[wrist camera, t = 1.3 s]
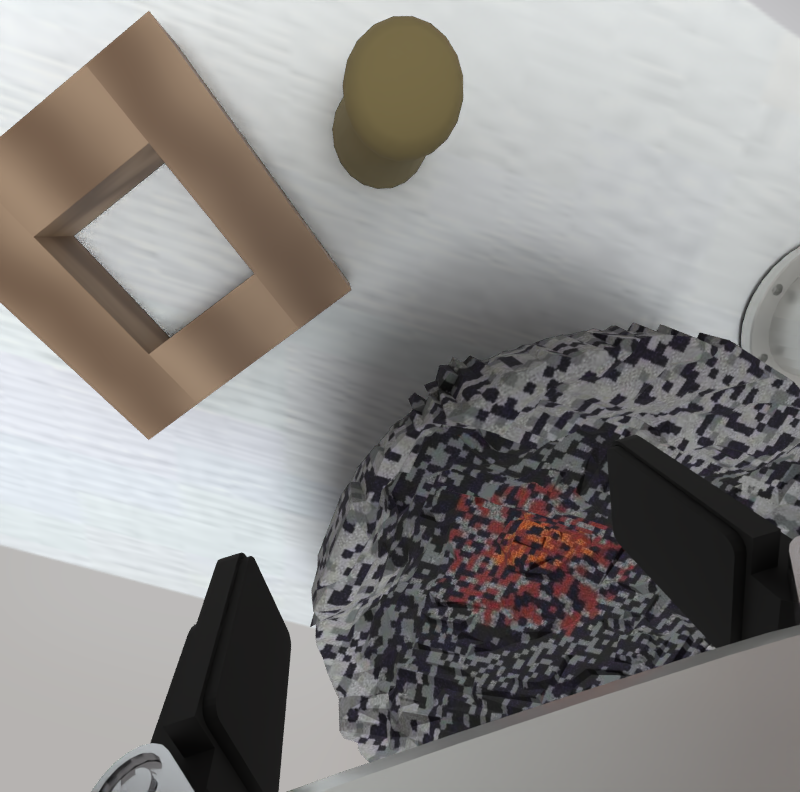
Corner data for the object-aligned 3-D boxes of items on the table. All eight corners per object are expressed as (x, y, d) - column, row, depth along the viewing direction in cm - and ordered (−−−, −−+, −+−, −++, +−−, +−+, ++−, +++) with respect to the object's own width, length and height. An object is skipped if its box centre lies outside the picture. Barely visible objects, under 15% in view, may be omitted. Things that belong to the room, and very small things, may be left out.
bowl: (268, 582, 38) (232, 782, 25) (415, 222, 30) (487, 215, 16) (566, 648, 47) (666, 826, 33) (747, 378, 38) (985, 464, 24)
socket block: (175, 43, 25) (148, 10, 21) (349, 282, 31) (351, 290, 27) (-34, 218, 26) (-94, 215, 23) (169, 415, 32) (148, 439, 28)
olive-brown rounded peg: (330, 183, 29) (329, 156, 18) (334, 71, 27) (336, -29, 16) (423, 194, 30) (471, 174, 19) (434, 86, 28) (494, 2, 17)
